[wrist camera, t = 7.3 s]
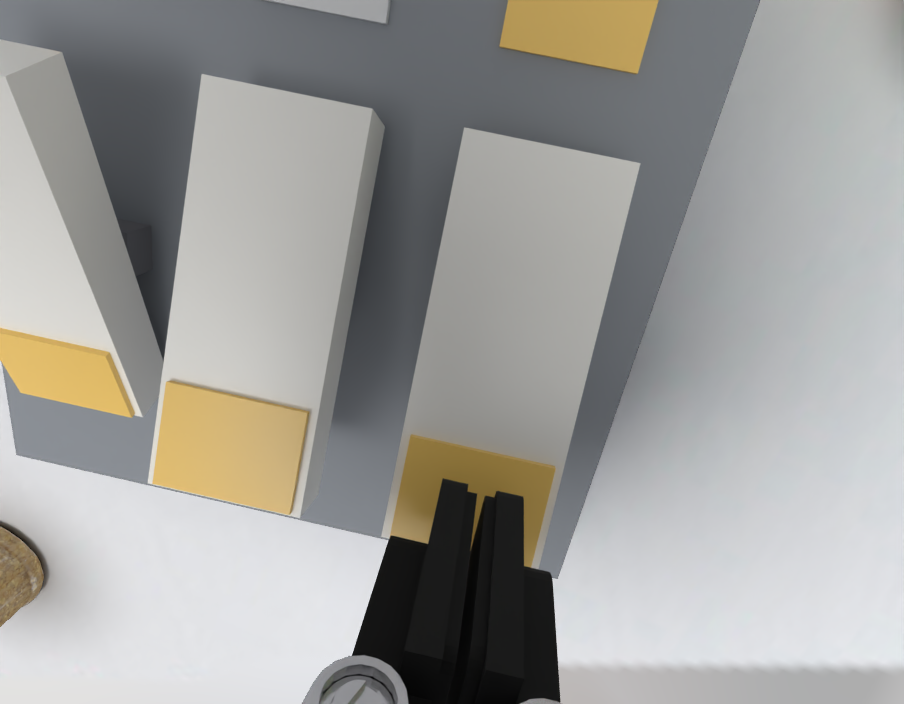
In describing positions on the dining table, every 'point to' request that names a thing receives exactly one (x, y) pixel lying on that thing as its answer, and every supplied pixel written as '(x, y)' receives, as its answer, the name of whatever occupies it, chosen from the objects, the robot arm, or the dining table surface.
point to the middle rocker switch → (263, 293)
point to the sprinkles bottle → (17, 575)
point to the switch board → (390, 178)
